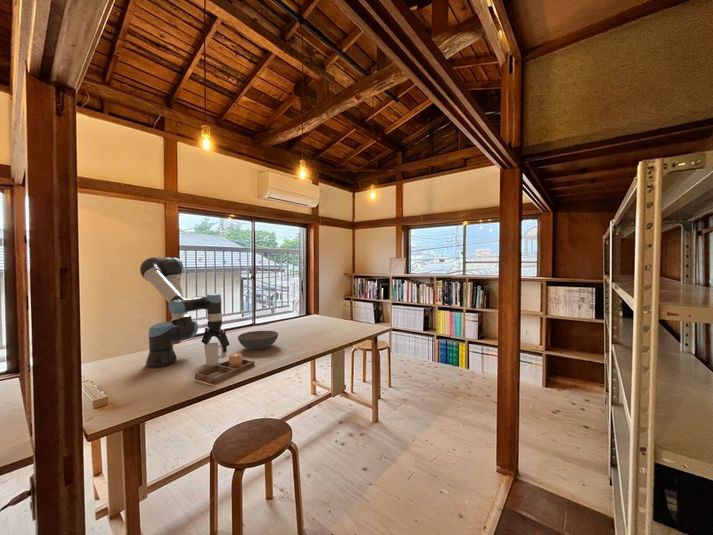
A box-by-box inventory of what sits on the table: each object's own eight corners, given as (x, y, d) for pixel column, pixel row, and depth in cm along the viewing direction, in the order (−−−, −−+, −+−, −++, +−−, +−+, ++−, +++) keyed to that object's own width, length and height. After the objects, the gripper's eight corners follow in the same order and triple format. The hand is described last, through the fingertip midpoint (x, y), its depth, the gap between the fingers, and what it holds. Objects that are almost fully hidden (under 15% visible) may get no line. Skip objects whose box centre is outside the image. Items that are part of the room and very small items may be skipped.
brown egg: (226, 368, 163) (226, 356, 163) (236, 364, 170) (236, 352, 169) (235, 370, 160) (235, 358, 160) (245, 366, 167) (245, 354, 167)
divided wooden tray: (195, 379, 150) (195, 373, 150) (235, 362, 174) (235, 357, 174) (215, 384, 144) (215, 378, 144) (254, 366, 168) (254, 361, 168)
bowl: (230, 354, 189) (230, 339, 188) (247, 342, 215) (247, 328, 214) (271, 355, 188) (271, 339, 187) (282, 342, 214) (282, 329, 214)
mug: (208, 367, 166) (207, 346, 166) (204, 364, 171) (203, 344, 170) (226, 363, 173) (226, 343, 173) (221, 360, 178) (221, 340, 178)
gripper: (194, 319, 173) (195, 355, 174) (224, 323, 162) (225, 361, 163) (205, 317, 180) (206, 351, 180) (235, 320, 169) (236, 357, 170)
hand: (215, 356), depth 172 cm, fingers open, 13 cm apart
